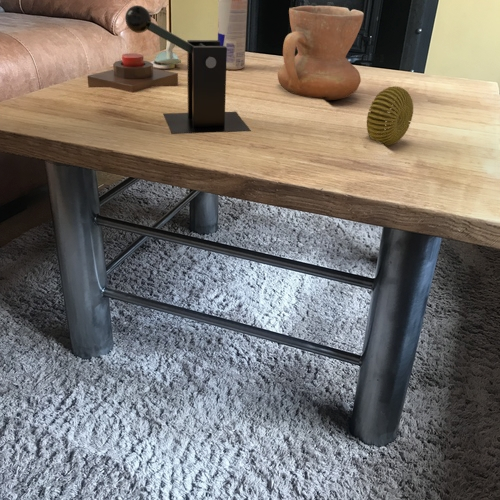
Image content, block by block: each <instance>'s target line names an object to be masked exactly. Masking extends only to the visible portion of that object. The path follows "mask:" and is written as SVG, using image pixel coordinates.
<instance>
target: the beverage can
mask: <svg viewBox="0 0 500 500" xmlns="http://www.w3.org/2000/svg"><path fill="white" fill-rule="evenodd" d="M217 14H218V15H217V40H219V41H220V46H226V47H227V62H226V71H227V70H228V71H229V70H230V71H234V70H235V71H238V70H241V69H244V67H245V65H246V63H245V61H246V40H247V21H248V20H247V19H248V18H247V17H248V0H218V13H217Z"/></svg>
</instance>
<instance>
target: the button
mask: <svg viewBox="0 0 500 500" xmlns="http://www.w3.org/2000/svg"><path fill="white" fill-rule="evenodd" d="M144 58H145V57H144V55H143V54H141V53H134V52H133V53H132V52H131V53H124V54H122V55H121V60H122V65H124V66H130V67H137V66H144V61H145V59H144Z"/></svg>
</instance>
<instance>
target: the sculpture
mask: <svg viewBox="0 0 500 500" xmlns="http://www.w3.org/2000/svg"><path fill="white" fill-rule="evenodd" d="M413 101H414V100H413V98H412V96H411V94H410V93H409V92H408V91H407V89H405V88H403V87H400V86H389V87H387V88H384V89H383V90H381V91H380V92H379V93H378V94H377V95H376V96H375V97H374V99H373V100H372V102H371V104H370V106H369V109H368V112H367V116H366V130H367V134H368V136H369V138H370V139H371V140H372V141H375V142H378V143H380V144H381V145H382V146H385V147H387V146H392V145H394V144H396V143H398V142H399V141H401V139H402V138H403V137H404V136H405V135H406V134H407V131H408V130H409V128H410V127H411V126H410V125H411V122H412V119H413V116H414V102H413Z"/></svg>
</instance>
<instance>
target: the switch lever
mask: <svg viewBox="0 0 500 500" xmlns="http://www.w3.org/2000/svg"><path fill="white" fill-rule="evenodd" d="M124 20H125V24H126V26H127V28H128V29H129V30H130V31H131V32H133V33H136V34H140V33H141V34H142V33H145V32H146V31H149V32H151V33H153V34H155V35H156V36H158V37H160V38H162V39H164V40H165V41H166V42H167V41H169V42H171V43H173V44H174V45H175V47H178V48H180V49H181V50H183V51H185V52H186V53H187V52H189V53H190V54H192V46H193V45H192V44H190V43H188V42H187V41H186V40H185V39H182V38H181V37H180V36H178V35H176V34H174V33H172V32H171V31H169V30H167V29H165V28H163V27H161V26H160V25H158V24H156V23H155V22H153V21H152V17H151V14H150V11H148V10H147V8H146V7H144V6H142V5H132V6H130V7H129V8H128V9H127V11H126V12H125V16H124ZM199 46H205V45H203V44H202V43H200V44H199Z"/></svg>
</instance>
